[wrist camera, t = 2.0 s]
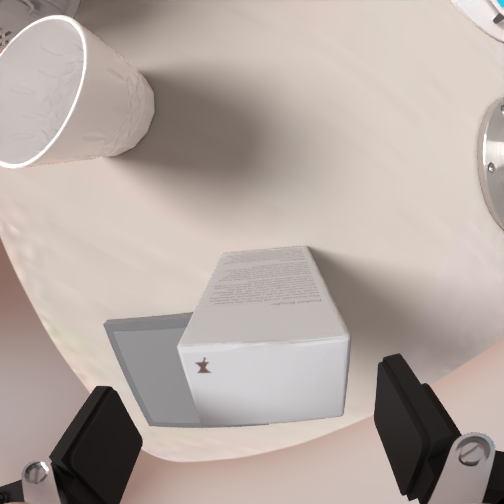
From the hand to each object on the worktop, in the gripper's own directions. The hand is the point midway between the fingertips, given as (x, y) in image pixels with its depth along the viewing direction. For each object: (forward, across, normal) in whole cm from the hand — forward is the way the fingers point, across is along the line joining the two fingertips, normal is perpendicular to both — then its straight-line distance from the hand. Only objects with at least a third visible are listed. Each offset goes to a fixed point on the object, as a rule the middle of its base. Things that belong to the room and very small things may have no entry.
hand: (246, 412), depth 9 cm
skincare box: (+13, -1, 0) cm, 13 cm away
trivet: (+13, +7, +8) cm, 17 cm away
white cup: (+13, +8, -14) cm, 21 cm away
